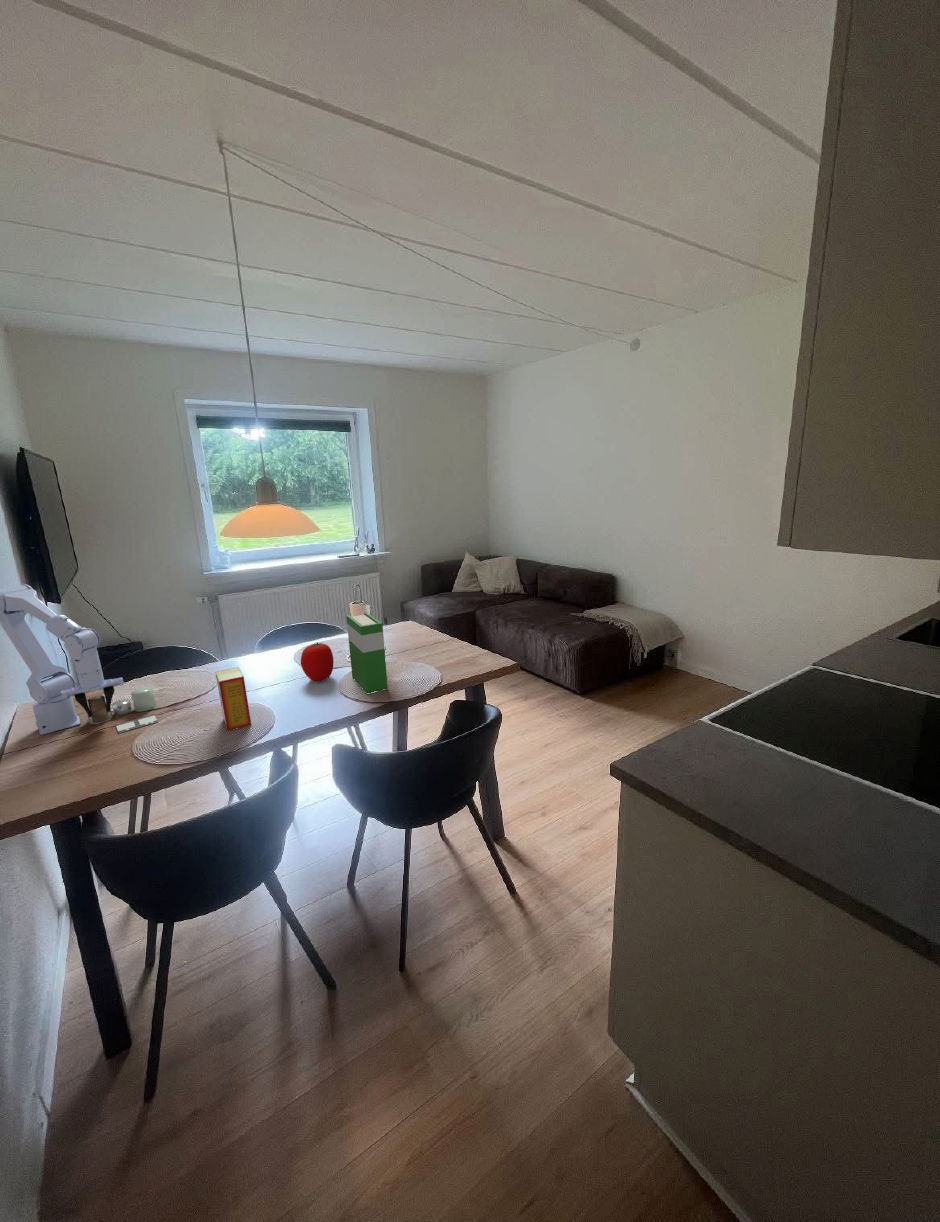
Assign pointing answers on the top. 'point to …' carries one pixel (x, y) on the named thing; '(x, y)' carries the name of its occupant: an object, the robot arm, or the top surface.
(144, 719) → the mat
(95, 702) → the walnut peg
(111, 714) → the mug white
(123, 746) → the top surface
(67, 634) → the robot arm
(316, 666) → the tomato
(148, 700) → the mug sage
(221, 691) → the baking soda box
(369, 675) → the hardback book
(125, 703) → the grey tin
